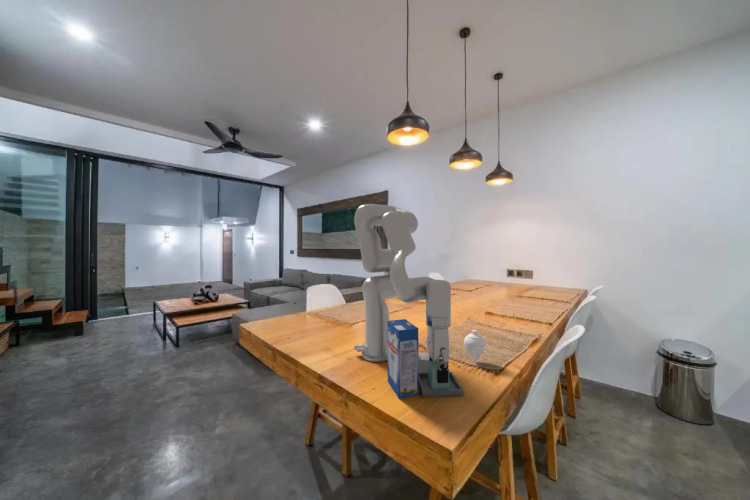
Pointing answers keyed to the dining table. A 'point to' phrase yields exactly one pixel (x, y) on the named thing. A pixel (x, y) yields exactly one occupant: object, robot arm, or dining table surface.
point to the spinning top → (474, 344)
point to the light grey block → (423, 362)
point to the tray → (453, 390)
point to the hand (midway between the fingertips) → (438, 374)
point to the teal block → (435, 376)
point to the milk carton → (403, 358)
